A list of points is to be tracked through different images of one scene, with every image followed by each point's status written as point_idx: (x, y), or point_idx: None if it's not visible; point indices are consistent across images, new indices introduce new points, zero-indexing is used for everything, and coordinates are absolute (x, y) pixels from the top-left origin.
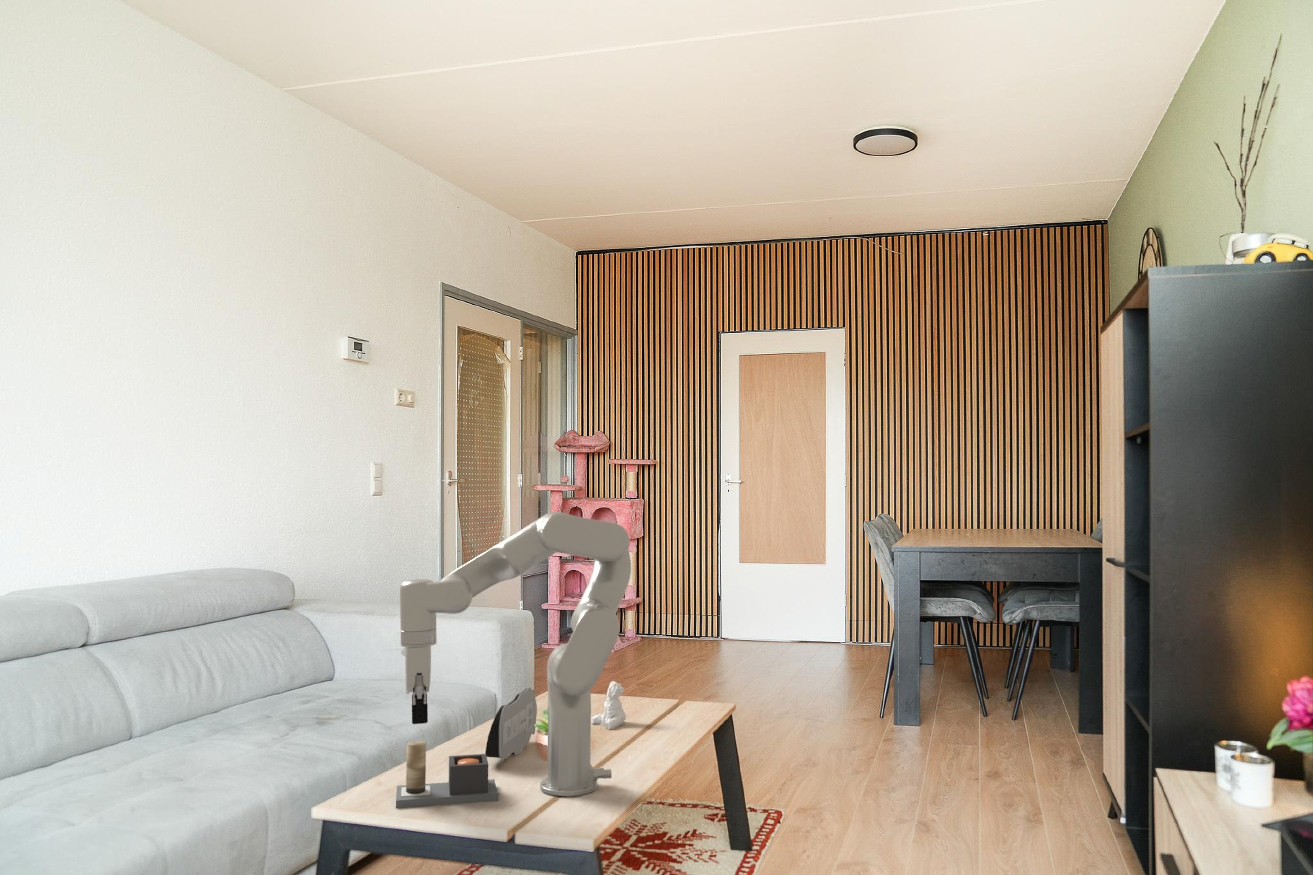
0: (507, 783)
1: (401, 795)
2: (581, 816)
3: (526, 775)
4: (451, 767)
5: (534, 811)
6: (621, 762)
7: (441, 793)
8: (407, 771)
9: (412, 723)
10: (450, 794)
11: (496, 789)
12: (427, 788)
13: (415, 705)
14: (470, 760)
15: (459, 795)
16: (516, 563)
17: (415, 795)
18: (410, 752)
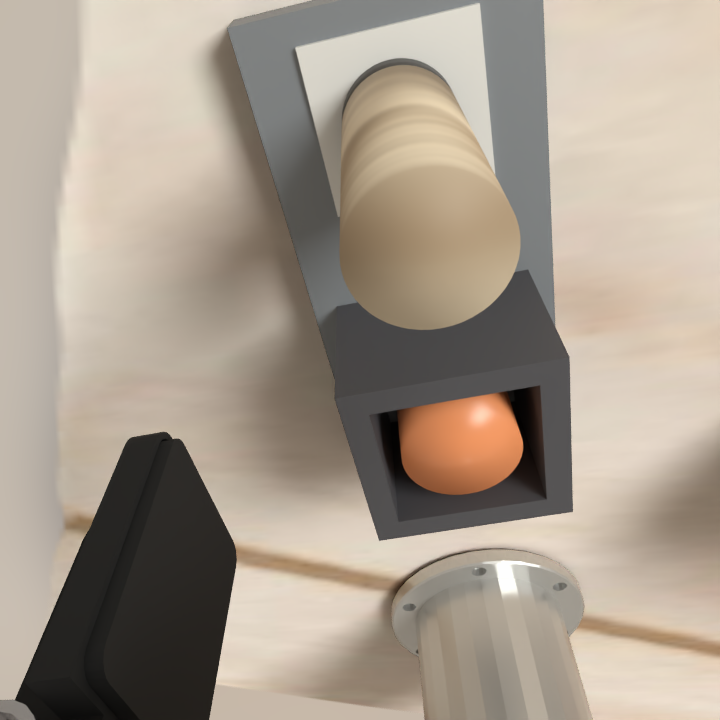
0: (578, 455)
1: (309, 47)
2: None
3: (667, 498)
4: (335, 400)
5: (250, 550)
6: (715, 683)
7: None
8: (365, 112)
9: (133, 437)
10: (338, 310)
11: None
12: None
13: (67, 703)
14: (479, 460)
15: (333, 346)
16: None
17: (317, 137)
18: (348, 194)
